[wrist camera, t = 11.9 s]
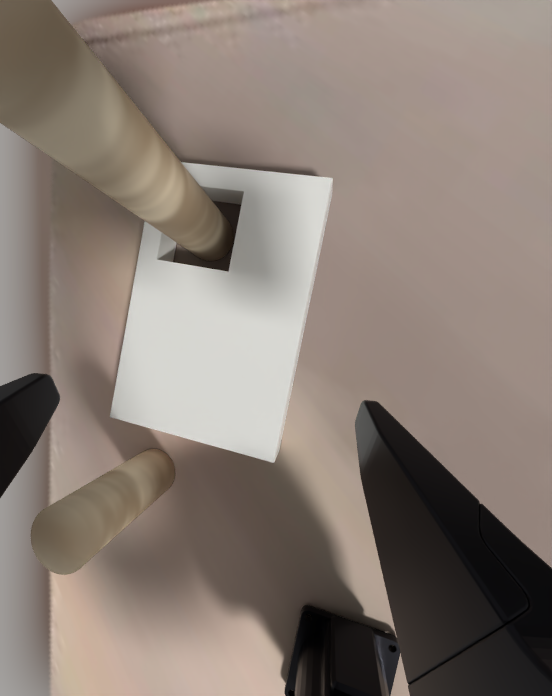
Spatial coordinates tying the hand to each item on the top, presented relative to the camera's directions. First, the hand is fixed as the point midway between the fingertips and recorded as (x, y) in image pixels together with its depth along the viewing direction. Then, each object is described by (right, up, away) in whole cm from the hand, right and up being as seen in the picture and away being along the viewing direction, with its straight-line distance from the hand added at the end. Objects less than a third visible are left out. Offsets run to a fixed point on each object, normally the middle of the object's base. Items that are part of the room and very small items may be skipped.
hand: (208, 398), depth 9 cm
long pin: (-3, +10, +13) cm, 16 cm away
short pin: (-7, -8, +14) cm, 17 cm away
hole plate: (-2, +4, +13) cm, 13 cm away
